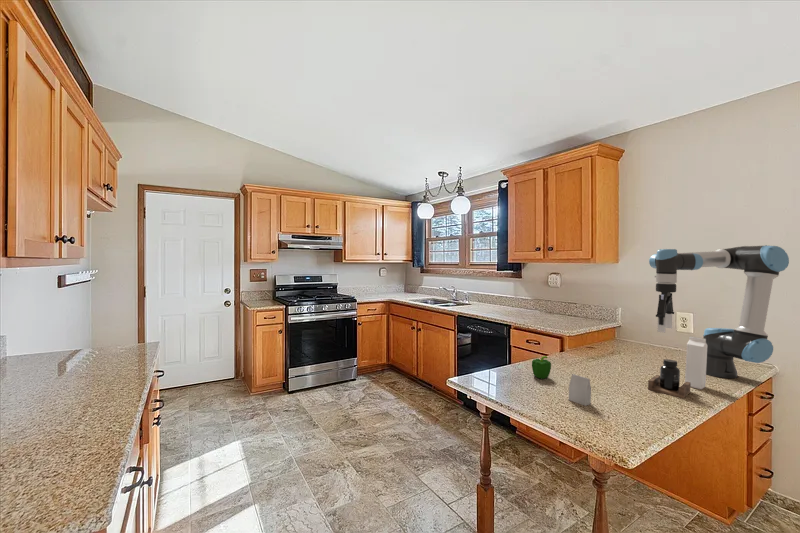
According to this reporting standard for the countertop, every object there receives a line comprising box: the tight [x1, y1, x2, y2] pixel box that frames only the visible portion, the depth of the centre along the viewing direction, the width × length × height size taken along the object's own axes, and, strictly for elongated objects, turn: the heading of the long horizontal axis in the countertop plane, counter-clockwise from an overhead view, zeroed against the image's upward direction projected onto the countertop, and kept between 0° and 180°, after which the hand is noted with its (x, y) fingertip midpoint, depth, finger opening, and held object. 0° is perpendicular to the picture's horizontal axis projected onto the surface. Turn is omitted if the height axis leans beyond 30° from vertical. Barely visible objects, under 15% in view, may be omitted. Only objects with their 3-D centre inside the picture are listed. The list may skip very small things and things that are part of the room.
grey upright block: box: [568, 373, 592, 407], centre depth 142 cm, size 4×7×10 cm, turn 35°
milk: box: [684, 336, 707, 390], centre depth 164 cm, size 6×6×22 cm
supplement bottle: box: [659, 358, 681, 391], centre depth 157 cm, size 7×7×12 cm
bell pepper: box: [531, 355, 552, 379], centre depth 170 cm, size 8×8×10 cm
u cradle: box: [647, 374, 691, 399], centre depth 158 cm, size 12×12×4 cm
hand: (664, 330), depth 166 cm, fingers open, 13 cm apart
